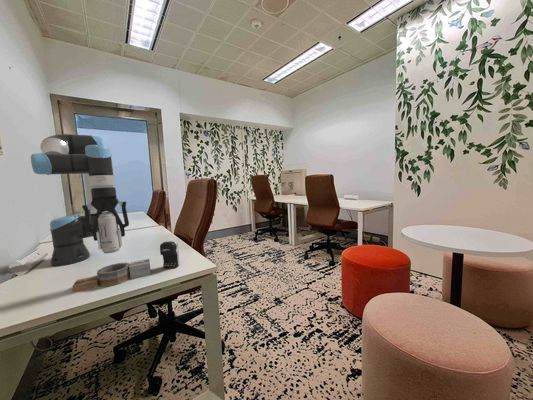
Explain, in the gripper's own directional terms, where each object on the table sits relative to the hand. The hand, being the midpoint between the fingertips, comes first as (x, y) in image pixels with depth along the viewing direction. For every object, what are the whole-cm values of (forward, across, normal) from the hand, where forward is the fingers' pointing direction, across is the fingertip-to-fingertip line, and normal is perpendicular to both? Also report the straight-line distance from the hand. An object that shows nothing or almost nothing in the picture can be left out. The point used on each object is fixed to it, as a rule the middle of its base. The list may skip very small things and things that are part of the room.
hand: (111, 246), depth 84 cm
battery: (+14, +20, 0) cm, 24 cm away
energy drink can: (+2, 0, 0) cm, 2 cm away
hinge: (+14, 0, 0) cm, 14 cm away
